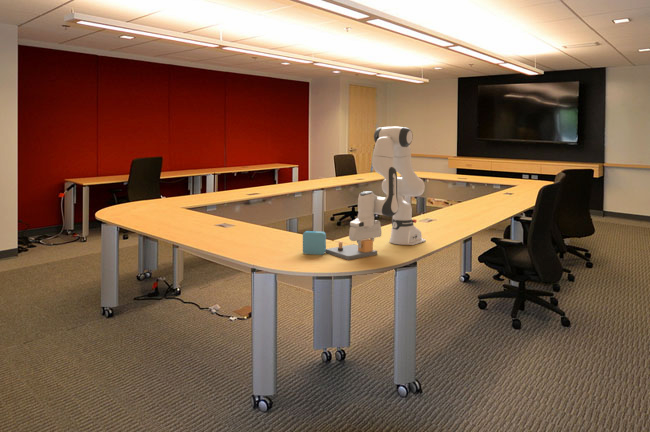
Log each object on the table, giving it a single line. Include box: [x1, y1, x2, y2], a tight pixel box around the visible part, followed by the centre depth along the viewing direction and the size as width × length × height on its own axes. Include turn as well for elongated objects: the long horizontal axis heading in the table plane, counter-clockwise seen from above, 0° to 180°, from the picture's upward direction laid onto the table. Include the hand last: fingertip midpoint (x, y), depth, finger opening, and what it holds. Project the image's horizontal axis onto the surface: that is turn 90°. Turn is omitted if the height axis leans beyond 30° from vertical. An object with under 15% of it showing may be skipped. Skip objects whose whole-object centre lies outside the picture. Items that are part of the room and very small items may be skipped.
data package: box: [302, 230, 327, 256], centre depth 278 cm, size 12×4×12 cm, turn 80°
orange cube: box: [358, 239, 374, 252], centre depth 276 cm, size 6×6×6 cm
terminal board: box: [324, 241, 378, 261], centre depth 279 cm, size 20×20×6 cm
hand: (365, 246), depth 277 cm, fingers closed on orange cube, 6 cm apart
